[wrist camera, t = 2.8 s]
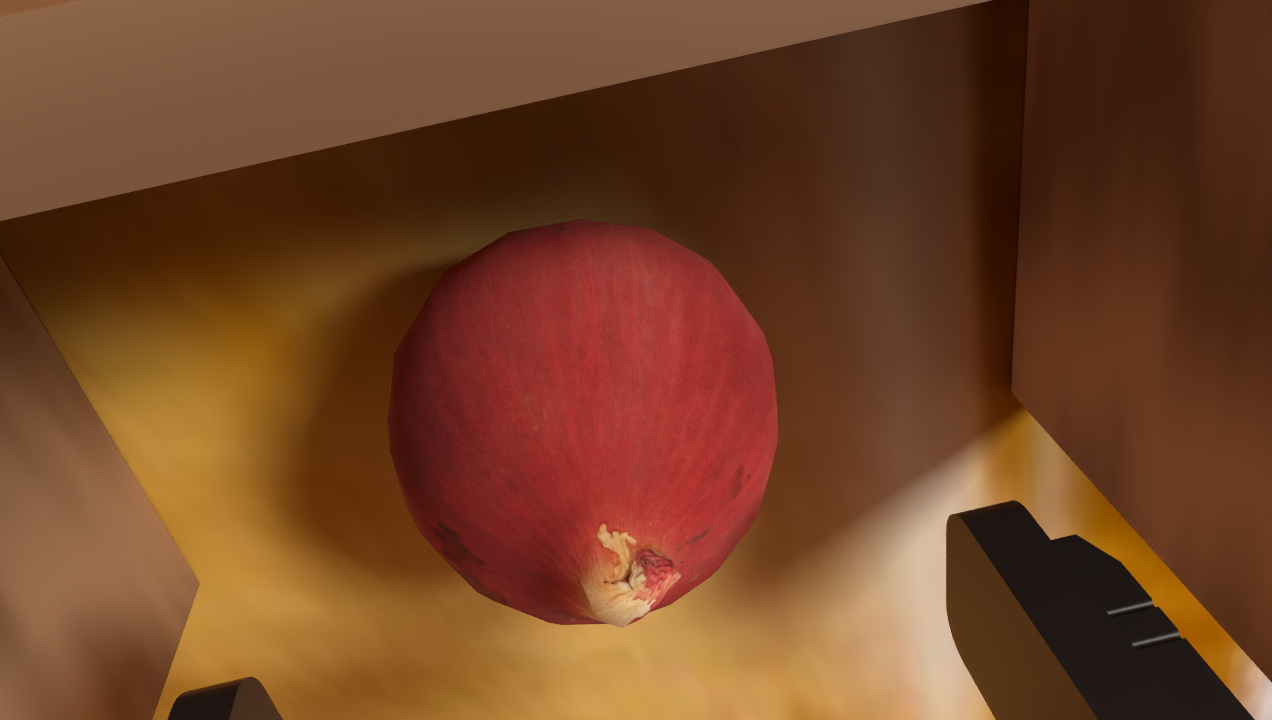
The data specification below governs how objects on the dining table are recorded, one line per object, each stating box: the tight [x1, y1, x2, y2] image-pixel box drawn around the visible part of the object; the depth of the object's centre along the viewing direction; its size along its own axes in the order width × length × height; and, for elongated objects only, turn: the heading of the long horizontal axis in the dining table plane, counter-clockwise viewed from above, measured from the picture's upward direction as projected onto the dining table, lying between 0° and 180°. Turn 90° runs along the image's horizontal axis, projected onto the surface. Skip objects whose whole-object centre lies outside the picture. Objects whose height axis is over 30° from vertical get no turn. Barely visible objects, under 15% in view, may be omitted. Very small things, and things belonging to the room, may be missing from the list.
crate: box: [0, 0, 1272, 720], centre depth 13 cm, size 12×20×9 cm, turn 100°
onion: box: [388, 219, 778, 627], centre depth 14 cm, size 6×6×8 cm
